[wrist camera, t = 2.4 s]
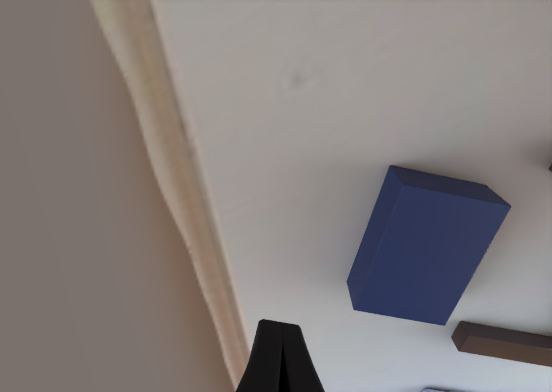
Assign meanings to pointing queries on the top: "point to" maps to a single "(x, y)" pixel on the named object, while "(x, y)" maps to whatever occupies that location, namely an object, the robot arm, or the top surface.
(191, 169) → the top surface
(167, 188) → the top surface
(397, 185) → the tea packet
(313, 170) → the top surface
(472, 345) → the bay
